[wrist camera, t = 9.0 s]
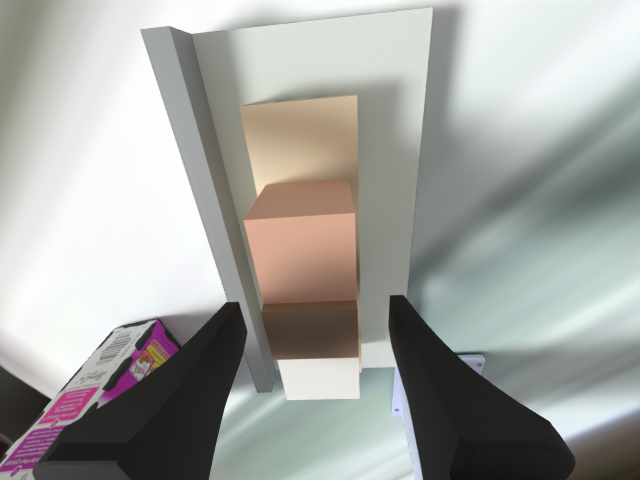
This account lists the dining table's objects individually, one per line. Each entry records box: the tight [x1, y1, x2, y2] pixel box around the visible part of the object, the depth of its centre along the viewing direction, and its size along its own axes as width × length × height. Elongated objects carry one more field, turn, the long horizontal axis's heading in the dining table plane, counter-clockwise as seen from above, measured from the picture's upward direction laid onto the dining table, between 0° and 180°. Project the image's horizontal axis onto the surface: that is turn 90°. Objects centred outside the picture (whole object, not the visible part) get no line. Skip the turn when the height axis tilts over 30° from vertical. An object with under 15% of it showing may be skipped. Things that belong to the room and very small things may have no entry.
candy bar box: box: [0, 319, 181, 480], centre depth 20 cm, size 11×5×16 cm, turn 18°
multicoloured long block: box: [239, 94, 362, 372], centre depth 15 cm, size 18×5×7 cm, turn 5°
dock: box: [140, 7, 433, 393], centre depth 18 cm, size 24×12×4 cm, turn 5°
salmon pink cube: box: [243, 179, 357, 304], centre depth 13 cm, size 4×4×4 cm
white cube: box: [277, 358, 360, 400], centre depth 16 cm, size 4×4×4 cm
